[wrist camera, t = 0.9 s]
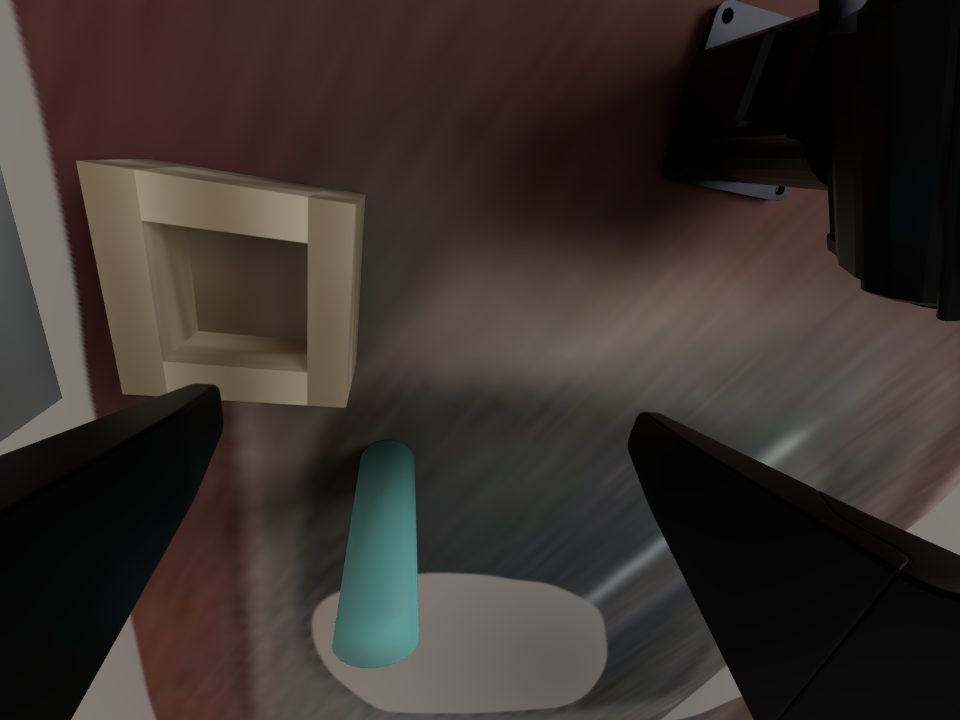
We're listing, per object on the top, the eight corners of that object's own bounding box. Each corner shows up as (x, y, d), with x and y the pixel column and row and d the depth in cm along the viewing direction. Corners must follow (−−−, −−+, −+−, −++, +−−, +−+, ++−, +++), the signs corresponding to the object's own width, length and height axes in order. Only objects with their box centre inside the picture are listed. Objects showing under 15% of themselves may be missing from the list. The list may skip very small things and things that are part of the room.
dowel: (417, 441, 24) (423, 613, 15) (411, 483, 25) (414, 665, 16) (361, 438, 23) (333, 616, 14) (358, 481, 24) (331, 670, 16)
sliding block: (365, 194, 18) (355, 204, 14) (356, 364, 21) (345, 407, 18) (148, 158, 16) (75, 160, 13) (174, 350, 19) (122, 394, 16)
